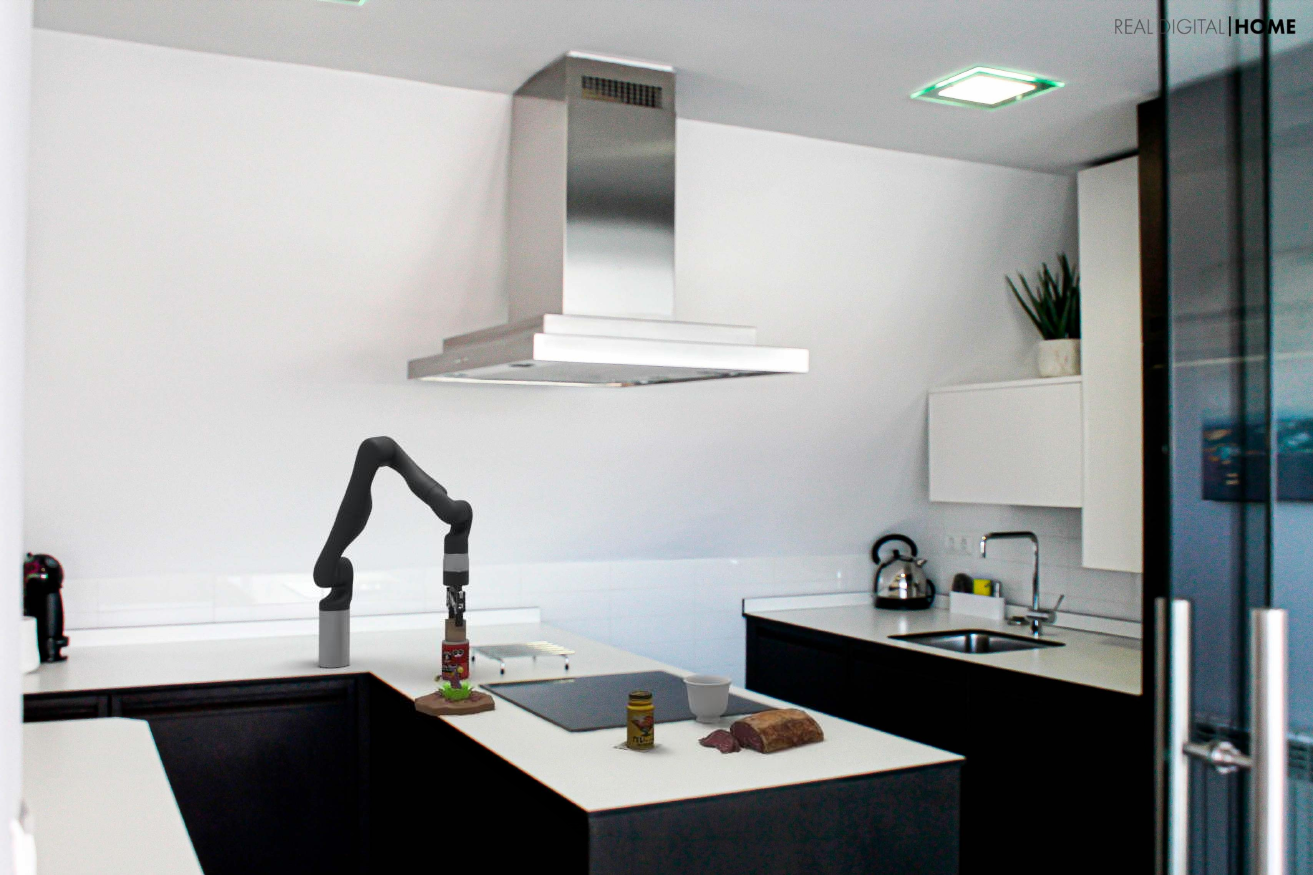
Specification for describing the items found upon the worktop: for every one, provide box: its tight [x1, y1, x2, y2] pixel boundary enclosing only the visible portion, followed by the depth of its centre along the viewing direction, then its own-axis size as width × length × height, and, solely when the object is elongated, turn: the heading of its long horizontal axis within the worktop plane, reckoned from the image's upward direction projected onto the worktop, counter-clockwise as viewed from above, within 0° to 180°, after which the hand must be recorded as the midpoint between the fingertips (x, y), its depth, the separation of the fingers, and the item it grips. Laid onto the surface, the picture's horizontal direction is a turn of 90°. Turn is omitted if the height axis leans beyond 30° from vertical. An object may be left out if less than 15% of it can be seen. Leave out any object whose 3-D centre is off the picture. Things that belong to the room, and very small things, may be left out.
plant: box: [414, 666, 496, 717], centre depth 282 cm, size 20×20×11 cm
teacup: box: [683, 673, 733, 724], centre depth 269 cm, size 12×15×10 cm
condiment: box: [613, 690, 662, 753], centre depth 244 cm, size 7×8×12 cm
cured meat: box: [697, 707, 825, 754], centre depth 247 cm, size 18×25×7 cm
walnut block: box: [444, 618, 467, 642], centre depth 320 cm, size 5×5×6 cm
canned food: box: [441, 638, 470, 681], centre depth 320 cm, size 8×8×11 cm
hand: (455, 624), depth 320 cm, fingers open, 8 cm apart
